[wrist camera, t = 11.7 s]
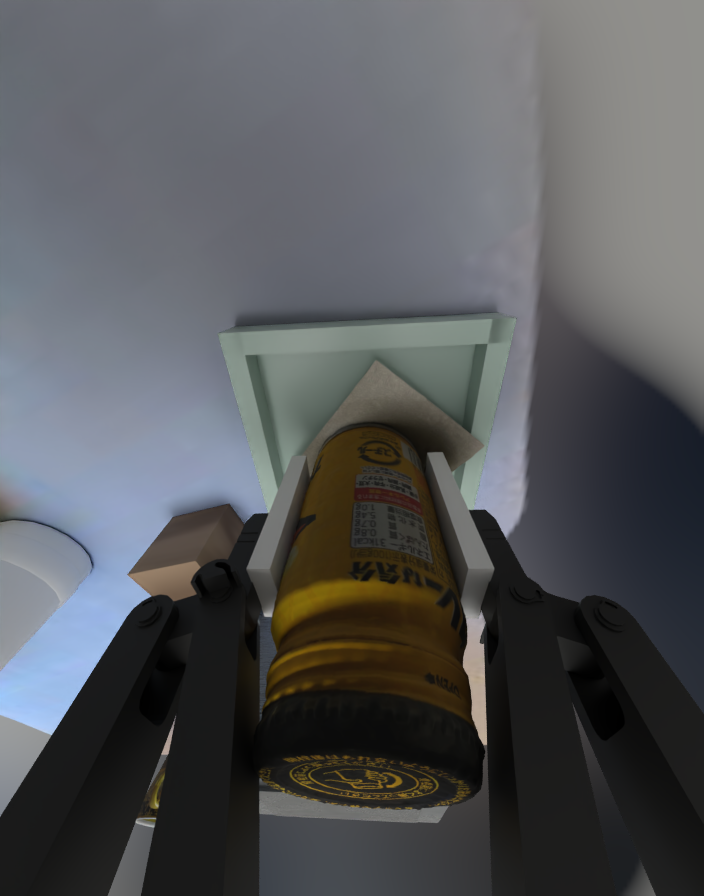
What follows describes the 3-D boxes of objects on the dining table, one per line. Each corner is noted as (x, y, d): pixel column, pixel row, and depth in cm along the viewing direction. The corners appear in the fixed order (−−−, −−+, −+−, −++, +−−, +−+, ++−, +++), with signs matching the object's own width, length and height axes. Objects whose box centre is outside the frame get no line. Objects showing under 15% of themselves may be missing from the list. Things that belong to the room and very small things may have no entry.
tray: (235, 326, 14) (217, 333, 13) (497, 312, 14) (516, 317, 12) (283, 523, 22) (276, 544, 20) (457, 521, 21) (465, 543, 19)
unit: (277, 565, 24) (212, 782, 14) (418, 565, 24) (461, 793, 13) (295, 628, 30) (258, 819, 19) (411, 630, 29) (438, 828, 19)
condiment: (286, 474, 17) (161, 782, 7) (376, 358, 13) (406, 661, 3) (381, 528, 19) (397, 828, 9) (483, 442, 15) (722, 794, 5)
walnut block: (173, 516, 22) (127, 574, 18) (229, 502, 21) (195, 560, 17) (209, 557, 24) (176, 617, 20) (261, 546, 23) (238, 607, 19)
